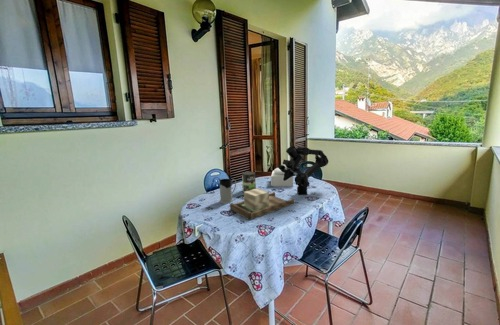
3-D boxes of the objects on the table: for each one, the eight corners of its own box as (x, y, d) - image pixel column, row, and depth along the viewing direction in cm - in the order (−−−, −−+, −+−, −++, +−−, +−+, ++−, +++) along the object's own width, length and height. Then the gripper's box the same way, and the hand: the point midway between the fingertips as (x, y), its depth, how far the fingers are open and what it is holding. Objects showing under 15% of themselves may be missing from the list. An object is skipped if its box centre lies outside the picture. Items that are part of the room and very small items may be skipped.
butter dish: (271, 186, 200) (270, 167, 197) (272, 180, 218) (272, 162, 215) (293, 186, 198) (293, 167, 194) (292, 180, 215) (292, 162, 212)
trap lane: (273, 196, 176) (273, 190, 176) (294, 203, 161) (294, 197, 160) (230, 209, 155) (230, 203, 155) (249, 219, 140) (248, 213, 139)
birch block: (258, 201, 162) (257, 188, 160) (269, 205, 153) (268, 192, 152) (244, 205, 156) (243, 191, 154) (255, 210, 147) (254, 196, 145)
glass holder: (217, 201, 171) (216, 180, 168) (232, 196, 181) (231, 176, 178) (225, 204, 165) (224, 182, 162) (240, 198, 175) (239, 178, 172)
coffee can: (258, 191, 189) (257, 173, 186) (246, 193, 185) (245, 175, 182) (252, 187, 198) (251, 170, 195) (240, 190, 194) (239, 172, 191)
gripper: (279, 153, 173) (268, 171, 169) (299, 156, 158) (287, 176, 154) (287, 162, 179) (276, 180, 175) (307, 166, 165) (296, 185, 160)
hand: (283, 180), depth 166 cm, fingers closed
